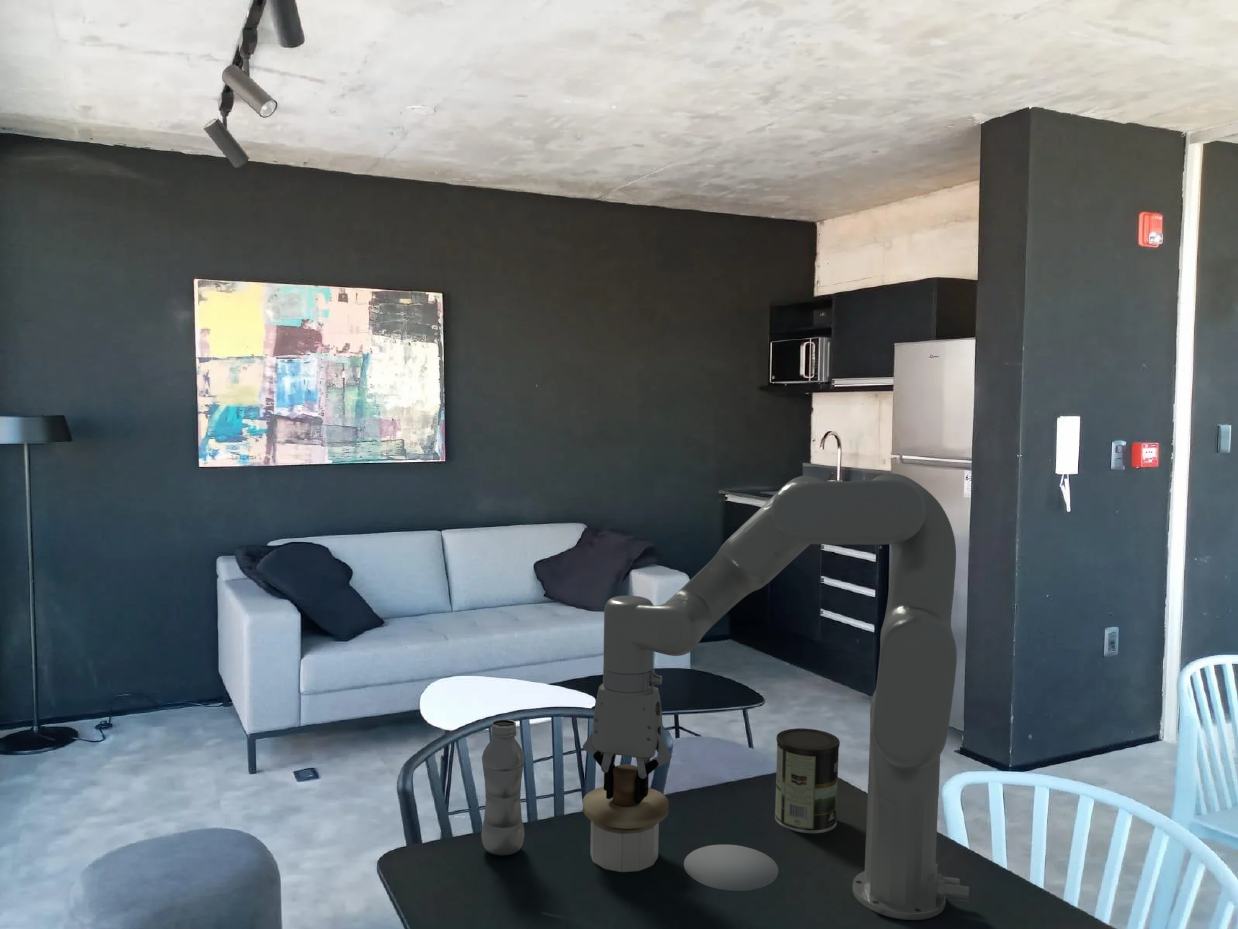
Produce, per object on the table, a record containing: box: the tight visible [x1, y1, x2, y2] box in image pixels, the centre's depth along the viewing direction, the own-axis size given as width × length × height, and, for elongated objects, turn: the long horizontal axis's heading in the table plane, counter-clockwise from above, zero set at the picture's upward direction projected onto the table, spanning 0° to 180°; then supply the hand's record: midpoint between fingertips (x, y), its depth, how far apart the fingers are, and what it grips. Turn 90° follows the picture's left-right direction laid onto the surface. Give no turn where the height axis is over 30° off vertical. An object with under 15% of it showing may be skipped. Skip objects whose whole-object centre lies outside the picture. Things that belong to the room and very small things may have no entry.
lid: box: [582, 763, 670, 829], centre depth 145 cm, size 13×13×6 cm
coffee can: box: [774, 727, 841, 834], centre depth 159 cm, size 10×10×14 cm
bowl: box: [589, 820, 660, 873], centre depth 145 cm, size 10×10×6 cm
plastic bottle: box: [480, 718, 525, 856], centre depth 146 cm, size 6×7×20 cm
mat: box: [683, 844, 779, 892], centre depth 143 cm, size 14×14×1 cm
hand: (625, 796), depth 145 cm, fingers closed on lid, 3 cm apart
